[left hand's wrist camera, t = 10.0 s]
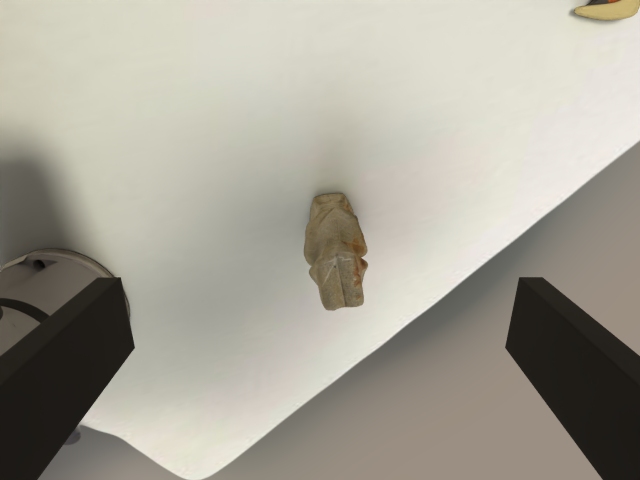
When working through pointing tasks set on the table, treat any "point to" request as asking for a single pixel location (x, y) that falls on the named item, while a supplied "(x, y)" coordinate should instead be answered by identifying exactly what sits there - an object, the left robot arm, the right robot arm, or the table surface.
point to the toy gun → (609, 9)
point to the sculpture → (335, 251)
